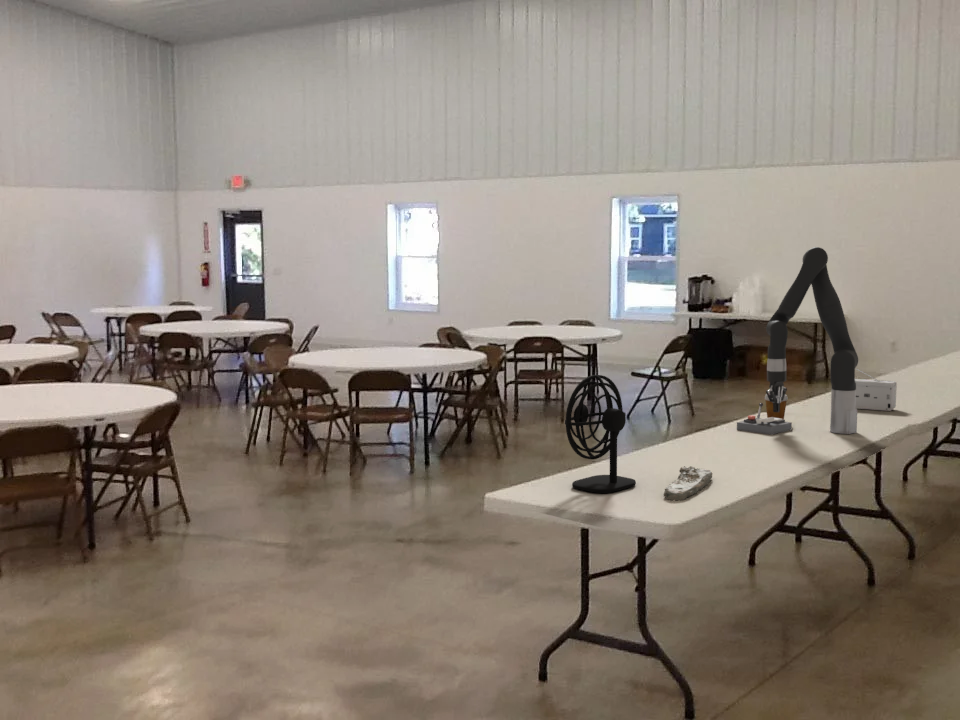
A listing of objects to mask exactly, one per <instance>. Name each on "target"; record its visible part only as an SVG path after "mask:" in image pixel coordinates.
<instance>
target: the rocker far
mask: <svg viewBox="0 0 960 720" xmlns="http://www.w3.org/2000/svg"><path fill="white" fill-rule="evenodd" d="M772 421H775V420H774V417H770V418H767V417H766V418H765V417H764V418H762V419H758V420H756V422H757V424H759V423H761V422H764V423H766V422H772Z"/></svg>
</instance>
